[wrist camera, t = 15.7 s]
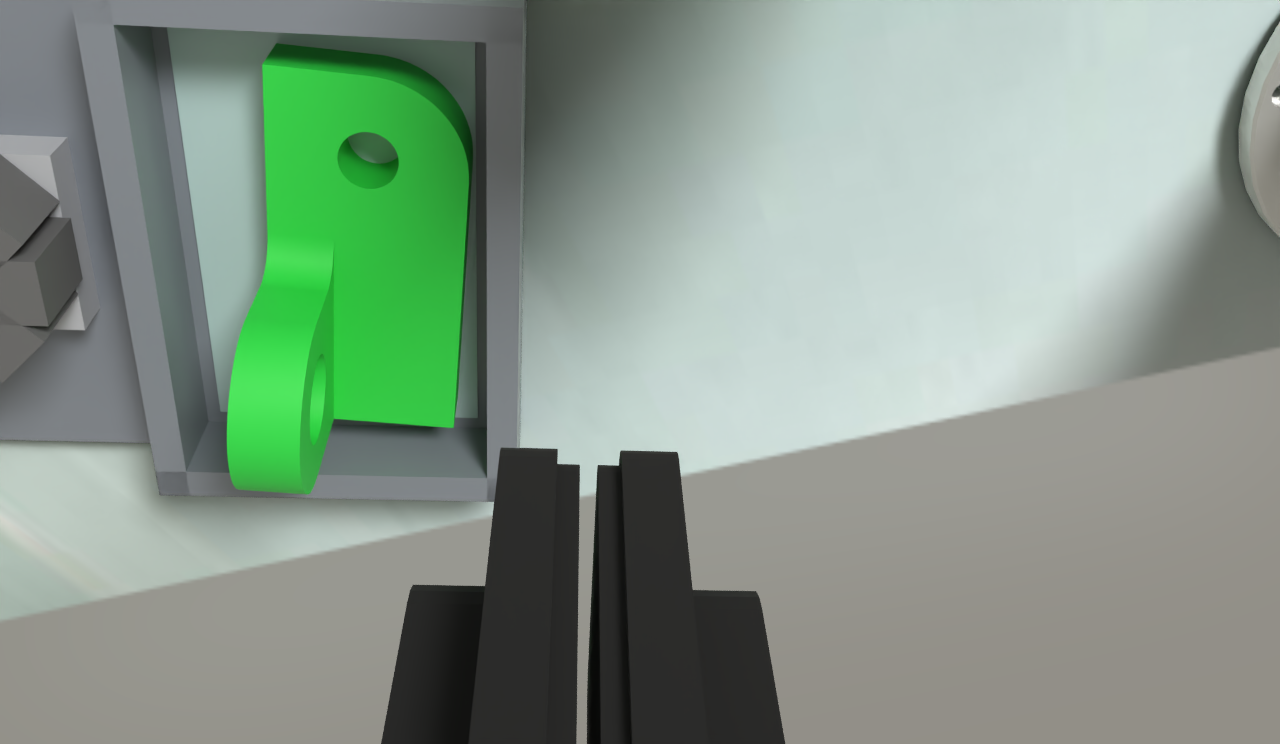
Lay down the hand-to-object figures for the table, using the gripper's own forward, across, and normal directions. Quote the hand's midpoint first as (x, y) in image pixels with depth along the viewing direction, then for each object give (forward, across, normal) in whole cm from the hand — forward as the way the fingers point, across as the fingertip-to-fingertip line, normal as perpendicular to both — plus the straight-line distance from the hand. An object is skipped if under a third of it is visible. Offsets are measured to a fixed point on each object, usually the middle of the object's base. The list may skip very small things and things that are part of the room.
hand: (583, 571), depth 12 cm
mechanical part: (+28, +7, +10) cm, 30 cm away
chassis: (+28, +12, +10) cm, 33 cm away
